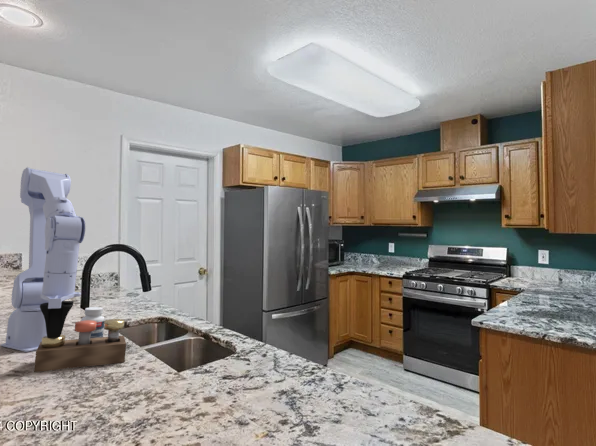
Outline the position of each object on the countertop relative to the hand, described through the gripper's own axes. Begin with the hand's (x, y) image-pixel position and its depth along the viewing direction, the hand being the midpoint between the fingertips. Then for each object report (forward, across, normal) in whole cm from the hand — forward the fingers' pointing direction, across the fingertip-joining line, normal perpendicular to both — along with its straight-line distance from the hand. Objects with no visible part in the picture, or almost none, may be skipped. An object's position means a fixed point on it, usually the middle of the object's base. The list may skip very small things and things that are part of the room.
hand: (53, 337), depth 72 cm
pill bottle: (+6, +14, -7) cm, 17 cm away
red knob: (+3, 0, -6) cm, 6 cm away
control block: (+6, 0, -6) cm, 8 cm away
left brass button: (+5, 0, 0) cm, 5 cm away
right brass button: (+3, 0, -11) cm, 11 cm away
